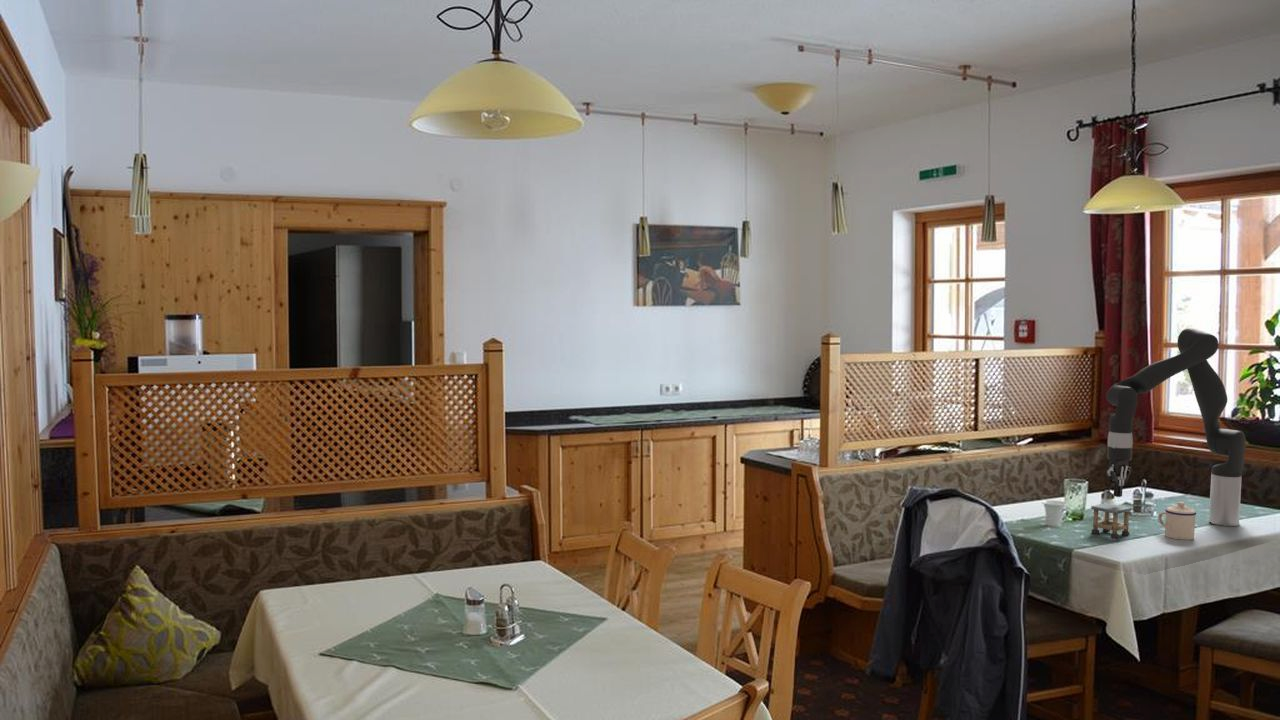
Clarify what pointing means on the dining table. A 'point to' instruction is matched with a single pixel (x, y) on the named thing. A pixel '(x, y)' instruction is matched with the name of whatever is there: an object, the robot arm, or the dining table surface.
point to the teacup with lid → (1179, 522)
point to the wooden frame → (1107, 523)
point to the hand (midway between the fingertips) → (1117, 496)
